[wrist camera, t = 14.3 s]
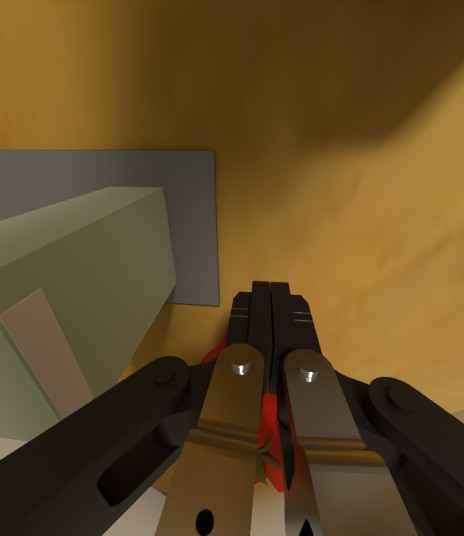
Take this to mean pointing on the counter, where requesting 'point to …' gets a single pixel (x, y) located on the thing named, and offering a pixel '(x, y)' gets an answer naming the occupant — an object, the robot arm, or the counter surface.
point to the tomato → (263, 436)
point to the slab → (77, 300)
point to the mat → (130, 175)
